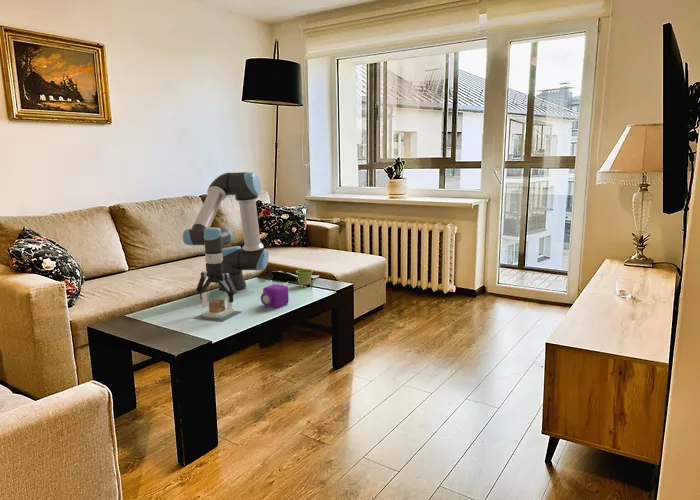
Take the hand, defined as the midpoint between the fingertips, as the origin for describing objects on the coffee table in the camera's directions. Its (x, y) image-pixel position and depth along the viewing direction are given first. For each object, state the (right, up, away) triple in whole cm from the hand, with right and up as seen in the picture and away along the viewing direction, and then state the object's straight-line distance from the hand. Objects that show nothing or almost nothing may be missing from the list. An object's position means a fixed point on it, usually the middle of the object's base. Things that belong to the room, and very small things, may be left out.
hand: (217, 308), depth 224 cm
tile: (-4, -2, +2) cm, 5 cm away
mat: (0, -4, +1) cm, 4 cm away
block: (0, -1, 0) cm, 1 cm away
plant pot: (+35, +6, +53) cm, 64 cm away
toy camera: (+24, -1, +15) cm, 28 cm away
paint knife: (+30, +7, +66) cm, 72 cm away
